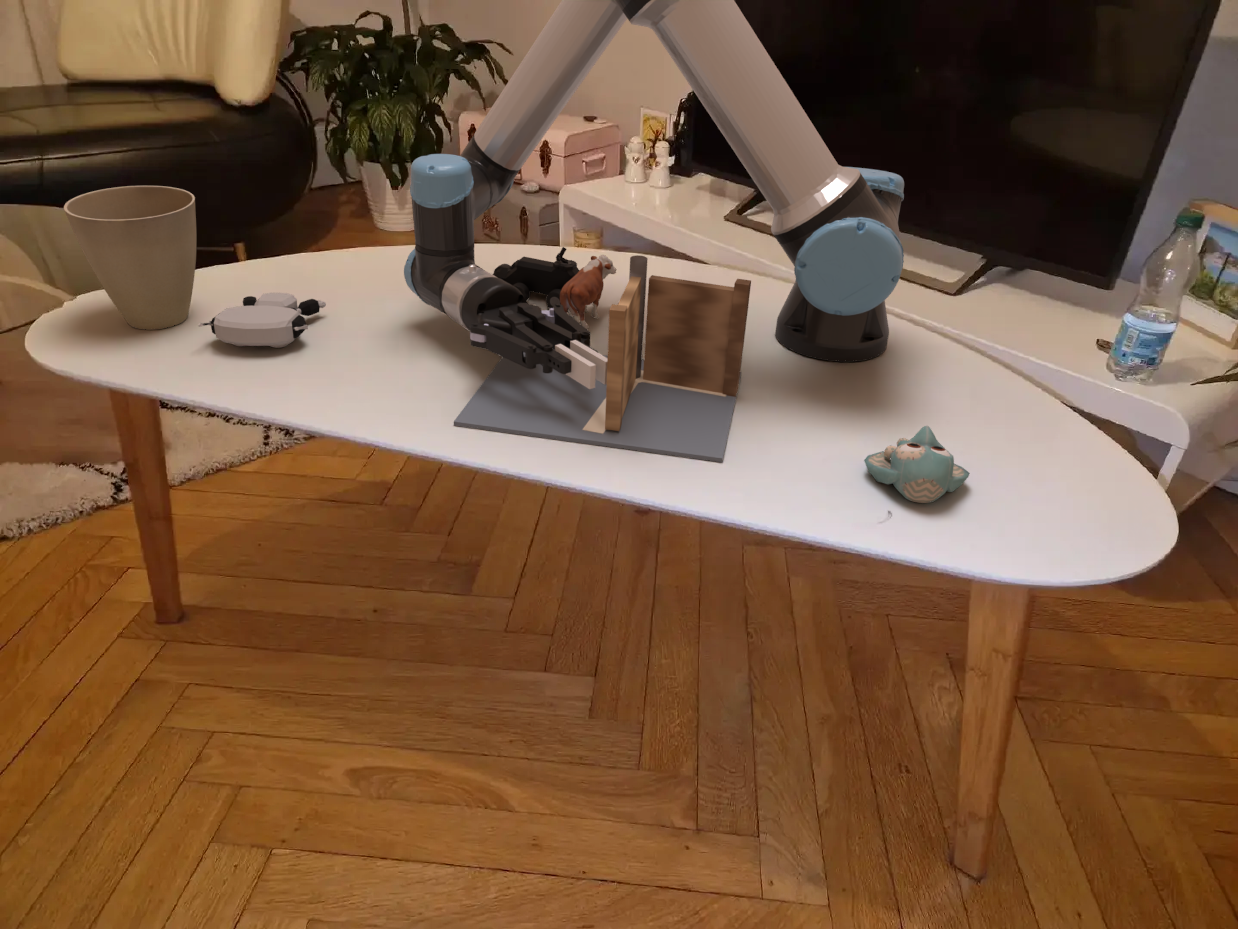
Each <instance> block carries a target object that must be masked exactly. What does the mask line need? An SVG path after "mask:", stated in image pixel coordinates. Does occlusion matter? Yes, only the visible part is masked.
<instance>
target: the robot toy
mask: <svg viewBox="0 0 1238 929" xmlns="http://www.w3.org/2000/svg"><path fill="white" fill-rule="evenodd" d="M326 306H327V303H326V301H324V300H323V301H322V300H319V299H314V298H309V299H306V300H303V301H301V302H299V305H298V299H297V297H295V295H294V294H291V293H287V292H267V293H262V294H261V295H260V296H259V298H258V299H257V298H256V296H252V295H250V296H245V297H243V300H242V306H241V305H240V306H233V307H228V308H227V307H226V308H224V310H222V311H220V312H219V313H218V314H217V315H215V316H214V317H212V319H211V320H209V322H198V323H197V324H198V327H203V326H210V328H211V329H210V330H211V333H213V335H215V338H216V339H218V340H219V341H221V342H223V343H225V344H232V345H233V346H236V347H247V346H249V347H254V346H255V347H256V346H257V347H260V346H263V347H265V346H270V347H272V348H275V349H280V348H285V347H287V346H288V345H289V344H291V343H292V342H294V341H295V339H298V338H299V337H301V335H302V334H303V333H304V332H305V331H306V330H308V329H309V325H308V324H307V323H306V318H305V317H304V316H306V317H310V316H313V315H315V314H318V313H320V309H323V308H325V307H326Z"/></svg>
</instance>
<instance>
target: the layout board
mask: <svg viewBox="0 0 1238 929" xmlns="http://www.w3.org/2000/svg"><path fill="white" fill-rule="evenodd" d="M523 354H524V357H525V353H524V352H523ZM602 355H603V356H604V357H606V358H608V354H607V355H606V354H602ZM643 370H644V359H642V363H641V377H640V378H637V379H636V380H635V383H634V386H633V389H632V391H631V394H630V397H629V400H628V403H627V405H626V408H625V411H624V414H623V417H622V425H621V427H620V430H619V431H615V430H606V429H605V415H606V388H607V384H605V385H604V384H603V383H601V382H600V381H598V380H596V379H595V388H592V389H588V388H587V387H585V386H584V385H582V384H580V383H579V382H577V381H576V380H574V379H572V378H571V377H569V376H568V375H566V374H562V373H559V372H558V371H556V370H555V369H553V372H552V373H543V366H542V365H540V364H536V368H534V369H528V368H525V367H523V366H521V365H519V364H517V363H515V362H512V361H510V360H508V359H506V358H504V357H502V356H501V358H500V359H499V360H498V362H497V364H496V365H495V366H494V368H493V369H492V370H491V372H490V373H489V374H488V375H487V377H486V378H485V379H484V380H483V382H482V383H481V385H480V386H479V387H478V389H477V390H476V391H475V392H474V394H473V395H472V397H471V398H470V399H469V401H468V402H466V404H465V406H464V407H463V408H462V409H461V411H460V412H459V414H458V415H457V416H456V418H455V419H454V421H453V426H455V427H462V428H468V429H469V428H471V429H476V430H485V431H491V432H497V433H506V434H511V435H513V434H514V435H521V436H526V437H527V436H528V437H534V438H535V437H536V438H542V439H549V440H550V439H551V440H557V441H564V442H570V443H578V444H586V445H593V446H599V447H600V446H601V447H606V446H607V447H608V448H614V449H615V448H616V449H621V448H624V449H623V450H628V449H630V451H635V450H637V451H636V452H643V451H644V452H645V453H650V452H652V454H658V455H664V454H667V455H666V456H672V455H675V456H674V457H679V456H681V458H686V457H689V458H688V459H693V458H694V459H695V460H701V461H708V460H710V462H715V461H716V462H717V463H723V462H722V461H724V456H725V452H726V447H727V443H728V437H729V432H730V429H731V423H732V418H733V416H734V415H733V414H734V411H735V405H736V400H737V396H738V394H737V395H736V397H733V396H727V395H725V394H722V393H718V392H712V391H706V390H700V389H695V388H689V387H683V386H678V385H672V384H666V383H660V382H655V381H649V380H644V379H643ZM741 376H742V371H740V378H741ZM740 381H741V379H740V380H739V383H740ZM644 452H643V453H644Z"/></svg>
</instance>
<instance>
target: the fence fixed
mask: <svg viewBox="0 0 1238 929" xmlns="http://www.w3.org/2000/svg"><path fill="white" fill-rule="evenodd" d="M629 258H630V259H629V278H628V281H629V280H630V277H631V276H633V277H641V293H640V311H639V329H638V347H637V365H636V379H637V378H640V377H641V363H642V360H644V370H643V379H644V380H649V381H655V382H660V383H666V384H672V385H678V386H683V387H689V388H695V389H700V390H706V391H712V392H718V393H722V394H725V395H727V396H733V397H736V398H737V396H738V393H739V389H740V388H739V386H740V382H739V380H740V381H741V377H740V372H742V371H741V370H742V360H743V353H744V345H745V336H746V328H747V322H748V321H747V319H748V312H749V301H750V294H751V286H752V280H749V279H745V278H744V279H742V278H737V279H736V280H735V282H734V286H728V285H721V284H715V283H708V282H700V281H694V280H686V279H680V278H675V277H667V276H660V275H653V274H652V275H650V277H649V278H648V287H647V274H648V273H647V272H648V257H646V256H645V255H632V256H630V257H629ZM647 288H648V289H647ZM646 290H647V293H646ZM646 295H647V307H646ZM646 309H647V310H646ZM645 310H646V311H645ZM645 312H646V320H645ZM645 323H646V324H645ZM644 324H645V325H644ZM644 328H645V337H644ZM643 341H644V342H643ZM643 343H644V346H643ZM643 347H644V356H643ZM643 357H644V359H643ZM736 395H737V396H736Z"/></svg>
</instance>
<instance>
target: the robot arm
mask: <svg viewBox="0 0 1238 929" xmlns="http://www.w3.org/2000/svg"><path fill="white" fill-rule="evenodd" d="M627 20H628V22H629V23H630V25H633V26H638V27H639V26H640V27H645V28H649V29H650V30H652V31H653V33H654V34H655V36H656V37H657V39H658V40H659V41H660V43H661V44H662V46H663V48H665V49H664V50H666V52H667V54H668V55H669V56H670V58H671V60H672V61H673V62H674V64H675V65H676V66H677V68H678V70H679V72H680V73H681V74H682V76H683V78H684V79H685V80H686V82H687V83H688V85H689V86H690V88H691V89H692V91H693V92H694V93H695V95H696V97H697V98H698V100H699V101H700V103H701V104H702V106H703V107H704V109H705V110H706V112H707V113H708V114H709V116H710V117H711V120H712V121H713V122H714V123H715V125H716V126H717V129H718V131H720V133H721V134H722V135H723V137H724V138H725V140H726V142H727V143H728V145H729V146H730V147H731V149H732V150H733V152H734V153H735V155H736V156H737V158H738V160H739V162H741V164H742V165H743V167H744V168H745V169H746V170H745V171H746V172H747V174H749V176H750V177H751V180H752V181H753V182H754V184H755V185H756V186H757V188H758V189H759V191H760V193H761V194H762V196H763V197H764V199H765V200H766V201H767V203H768V205H769V206H770V207H771V209H772V211H773V217H772V223H771V228H770V231H771V233H772V235H773V236H774V238H775V239H776V241H777V243H778V244H779V245H780V247H781V248H782V250H783V251H784V253H785V254H786V256H787V258H788V259H789V260H790V262H791V263H792V265H793V266H794V268H793V271H794V275H795V276H794V277H795V281H794V284H793V285H792V288H791V290H790V291H789V294H788V295H787V298H786V299H785V301H784V303H783V305H782V308H781V310H780V311H779V313H778V316H777V319H776V325H775V334H774V335H775V337H776V339H777V341H778V342H779V343H780V344H781V345H783V347H785V348H787V349H788V350H791V351H792V352H795V353H798V354H800V355H803V356H806V357H810V358H814V359H817V360H823V361H824V360H825V361H829V362H830V361H831V362H845V363H846V362H847V363H848V362H850V363H851V362H860V361H861V362H863V361H868V360H870V359H875V358H877V357H879V356H881V355H882V354H883V353H884V352H885V351H886V350H887V345H888V339H889V336H890V328H889V320H888V315H887V314H888V313H887V308H886V307H887V306H886V299H887V298H889V297H890V296H891V294H892V293H893V292H894V290H895V289H896V287H897V285H898V283H899V280H900V277H901V274H902V270H903V268H904V263H905V260H904V257H905V254H904V248H903V245H902V242H901V236H900V229H899V228H900V227H899V215H900V211H901V205H902V202H903V201H904V198H905V194H904V188H905V181H904V178H903V177H902V176H901V175H900V174H897V173H895V172H889V171H887V170H880V169H873V168H865V167H863V168H862V167H853V166H842V165H840V164H838V162H837V161H836V159H835V158H834V156H833V154H832V153H831V151H830V150H829V148H828V146H827V145H826V143H825V142H824V140H823V138H822V136H821V135H820V134H819V132H818V131H817V129H816V127H815V126H814V124H813V123H812V120H810V118H809V116H808V114H807V113H806V112H805V109H803V107H802V105H801V104H800V102H799V100H798V99H797V97H796V96H795V94H794V92H793V90H792V89H791V88H790V86H789V84H788V83H787V81H786V79H785V78H784V77H783V75H782V74H781V72H780V70H779V68H777V66H776V65H775V62H774V61H773V58H771V56H770V54H769V53H768V52H767V50H766V49H765V47H764V45H763V43H762V41H760V39H759V38H758V36H757V34H756V33H755V31H754V29H753V27H752V26H751V25H750V23H749V21H748V20H747V19H746V17H745V16H744V14H743V12H742V11H741V9H740V7H739V6H738V4H737V3H736V0H560V2H559V4H558V5H557V7H556V9H555V10H554V12H553V13H552V15H551V16H550V18H549V19H548V21H547V22H546V24H545V25H544V27H543V29H542V30H541V31H540V33H539V34H538V36H537V37H536V39H535V41H534V42H533V44H532V45H531V47H530V48H529V50H528V52H527V53H526V55H524V57H523V59H522V60H521V62H520V63H519V65H518V67H517V68H516V69H515V71H514V73H513V74H512V76H511V77H510V79H509V80H508V82H507V83H506V85H505V86H504V88H503V89H502V91H501V93H500V94H499V96H498V97H497V99H496V100H495V102H494V103H493V105H492V106H491V108H490V110H489V111H488V112H487V114H486V115H485V117H483V119H482V122H481V123H480V124H479V126H478V128H477V129H476V130H475V133H474V134H473V136H472V137H471V138H470V139H469V141H468V143H467V144H466V146H465V148H464V149H463V150H462V152H461V154H460V155H456V154H449V153H431V154H427V155H421V156H419V157H417V158H415V159H414V160H413V162H412V163H411V166H410V186H409V192H410V196H411V207H412V218H413V219H412V220H413V231H414V243H415V244H414V245H415V246H414V248H413V250H411V252H410V253H409V254H408V256H407V259H406V261H405V264H404V266H403V276H404V280H405V283H406V284H407V285H406V286H407V287H408V288H409V290H411V291H412V293H414V294H415V295H416V296H417V297H418V298H419V299H420V300H421V301H422V302H423V303H425V304H426V305H428V306H430V307H433V308H434V309H437V310H438V311H440V312H442V313H444V314H445V315H446V316H448V317H449V318H450V319H451V320H452V321H454V322H455V323H457V324H458V325H460V326H461V327H463V328H464V329H465V330H467V331H469V337H470V338H469V339H470V346H471V347H475V348H478V349H483V350H486V351H489V352H491V353H493V354H495V355H496V356H497V355H498V356H500V357H501V358H502V357H504V358H506V359H508V360H510V361H512V362H515V363H517V364H519V365H521V366H523V367H525V368H528V369H534V368H536V364H540V365H542V366H543V373H552V372H553V369H555V370H556V371H558V372H559V373H562V374H566V375H568V376H569V377H571V378H572V379H574V380H576V381H577V382H579V383H580V384H582V385H584V386H585V387H587V388H588V389H592V388H595V379H596V380H598V381H600V382H601V383H603V384H604V385H605V384H607V361H608V358H606V357H604V356H603V355H604V354H601V353H600V352H599V350H597V349H595V348H593V347H592V346H591V331H589V329H586V328H585V327H583V326H582V325H581V322H580V323H578V322H577V321H576V320H575V319H574V317H573V316H572V315H571V314H570V313H569V314H568V312H567V313H566V312H565V311H564V308H563V305H561V304H554V305H553V308H550V309H549V310H547V309H544V310H542V308H541V307H540V306H538V305H536V304H532V303H528V300H527V301H526V299H525V298H524V296H523V295H522V293H521V292H520V291H519V290H518V289H517V288H516V287H514V286H513V285H511V284H509V283H507V282H505V281H504V280H502V279H500V278H497V277H496V276H494V275H492V274H493V273H491V272H488V271H486V270H485V269H483V267H480V266H479V265H477V264H475V262H476V261H475V226H474V225H475V223H474V222H475V220H477V219H478V218H479V217H480V216H481V215H483V214H484V213H486V211H488V210H489V209H490V208H492V207H493V206H495V205H497V204H498V203H500V202H501V201H503V199H504V198H505V197H506V195H508V193H509V192H510V190H511V189H512V187H513V185H514V181H515V178H516V177H517V176H518V174H519V172H520V170H521V169H522V167H523V166H524V165H525V164H526V162H527V160H528V159H529V157H530V156H531V154H532V153H533V152H534V151H535V149H536V148H537V146H538V145H539V144H540V142H541V140H542V139H543V138H544V136H545V135H546V134H547V132H548V131H549V129H550V128H551V127H552V125H553V124H554V122H555V121H556V119H558V117H559V115H560V114H561V113H562V111H563V110H564V109H565V107H566V106H567V104H568V103H569V102H570V100H571V98H572V97H573V96H574V95H575V93H576V92H577V90H578V89H579V87H580V86H581V85H582V83H583V82H584V80H586V77H587V76H588V75H589V73H590V72H591V70H592V69H593V68H594V66H595V65H596V63H597V62H598V61H599V59H600V57H602V55H603V54H604V52H605V51H606V49H607V48H608V47H609V45H610V44H611V42H612V41H613V39H614V38H615V36H617V34H618V33H619V31H620V30H621V28H622V27H623V25H624V24H625V23H626V21H627ZM523 352H524V353H525V357H524V354H523Z"/></svg>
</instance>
